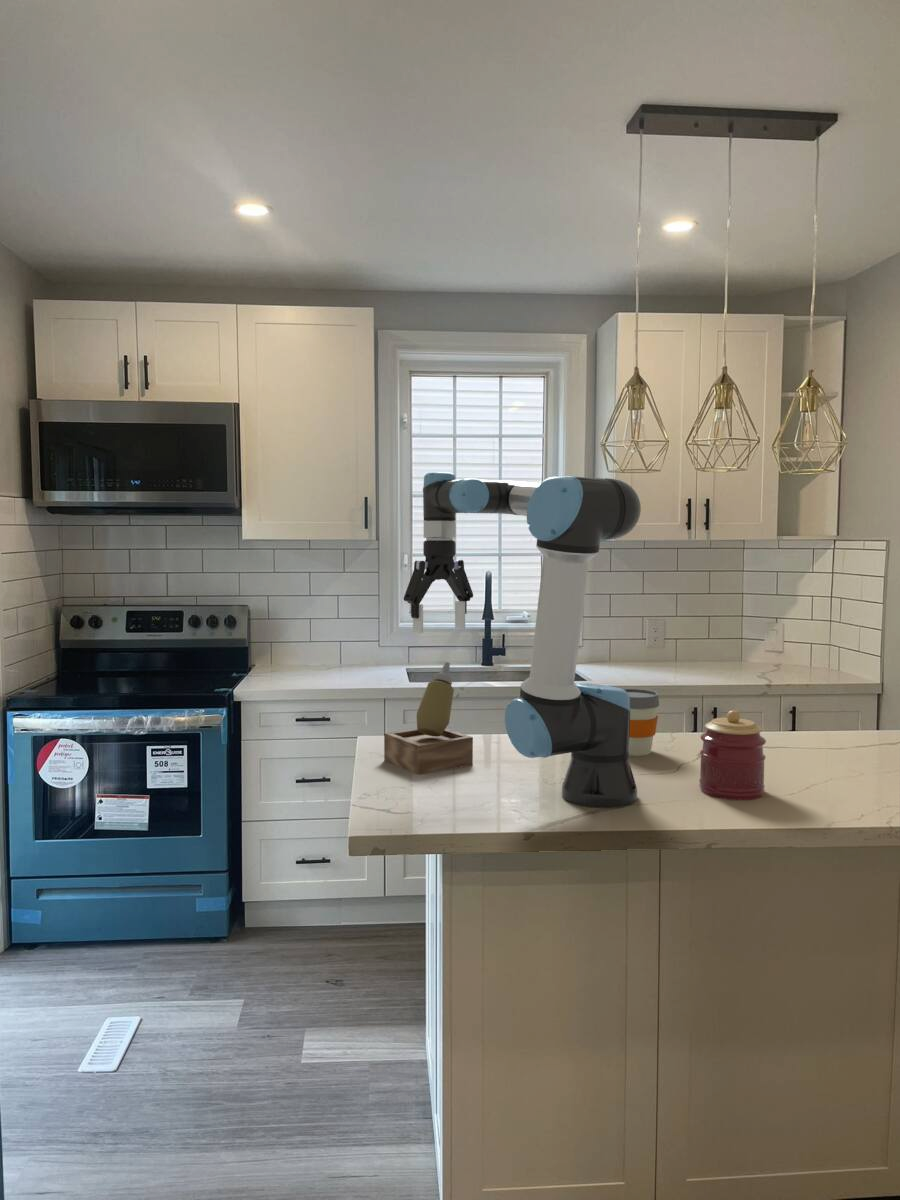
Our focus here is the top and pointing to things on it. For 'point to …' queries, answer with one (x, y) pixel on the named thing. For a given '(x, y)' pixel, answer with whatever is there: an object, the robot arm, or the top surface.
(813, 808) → the top surface
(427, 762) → the walnut tray
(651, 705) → the reusable coffee cup
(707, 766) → the canister
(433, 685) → the squeeze bottle
